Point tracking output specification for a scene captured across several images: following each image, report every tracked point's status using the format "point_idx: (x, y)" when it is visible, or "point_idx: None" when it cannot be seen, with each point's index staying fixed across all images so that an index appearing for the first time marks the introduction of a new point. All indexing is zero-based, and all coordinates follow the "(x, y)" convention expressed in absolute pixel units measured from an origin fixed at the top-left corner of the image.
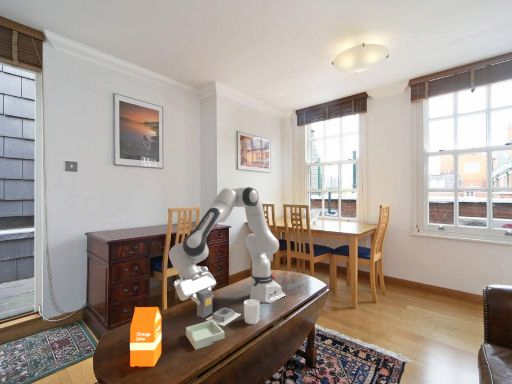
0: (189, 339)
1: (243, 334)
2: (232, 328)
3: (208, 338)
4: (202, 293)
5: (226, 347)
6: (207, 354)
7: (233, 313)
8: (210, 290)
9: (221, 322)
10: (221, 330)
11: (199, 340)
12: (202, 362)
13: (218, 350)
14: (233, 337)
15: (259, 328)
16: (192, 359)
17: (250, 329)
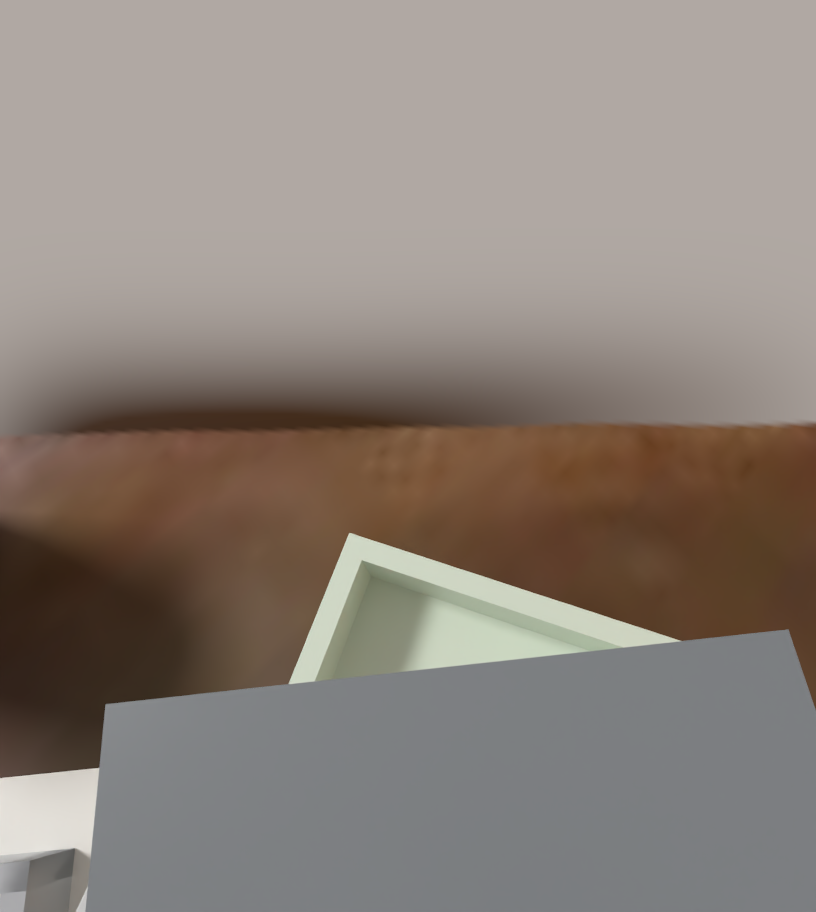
0: None
1: (175, 489)
2: (128, 666)
3: (547, 600)
4: (779, 805)
5: (439, 460)
6: (632, 511)
7: None
8: (155, 800)
9: None
10: (345, 588)
11: (665, 636)
12: (731, 458)
13: (520, 481)
14: (272, 526)
15: (7, 444)
16: (786, 559)
17: (61, 498)
